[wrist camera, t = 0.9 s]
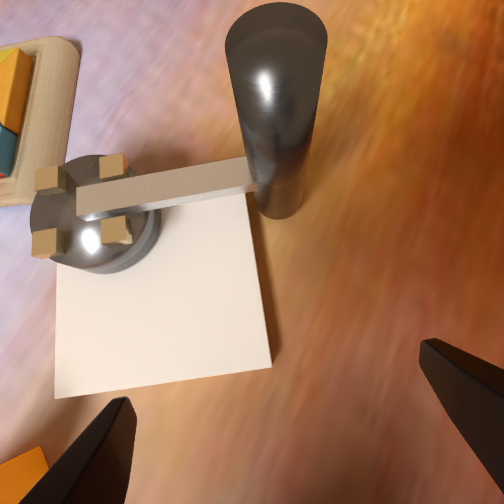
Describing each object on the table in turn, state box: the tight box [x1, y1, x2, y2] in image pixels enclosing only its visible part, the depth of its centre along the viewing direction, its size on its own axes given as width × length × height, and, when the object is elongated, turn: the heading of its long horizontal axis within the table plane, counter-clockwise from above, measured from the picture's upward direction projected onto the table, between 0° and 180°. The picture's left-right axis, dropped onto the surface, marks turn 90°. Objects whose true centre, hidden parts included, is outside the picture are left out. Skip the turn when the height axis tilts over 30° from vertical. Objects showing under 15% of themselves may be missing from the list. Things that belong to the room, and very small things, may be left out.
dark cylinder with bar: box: [30, 2, 328, 274], centre depth 17 cm, size 8×19×13 cm, turn 99°
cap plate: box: [54, 193, 272, 399], centre depth 23 cm, size 15×15×2 cm
